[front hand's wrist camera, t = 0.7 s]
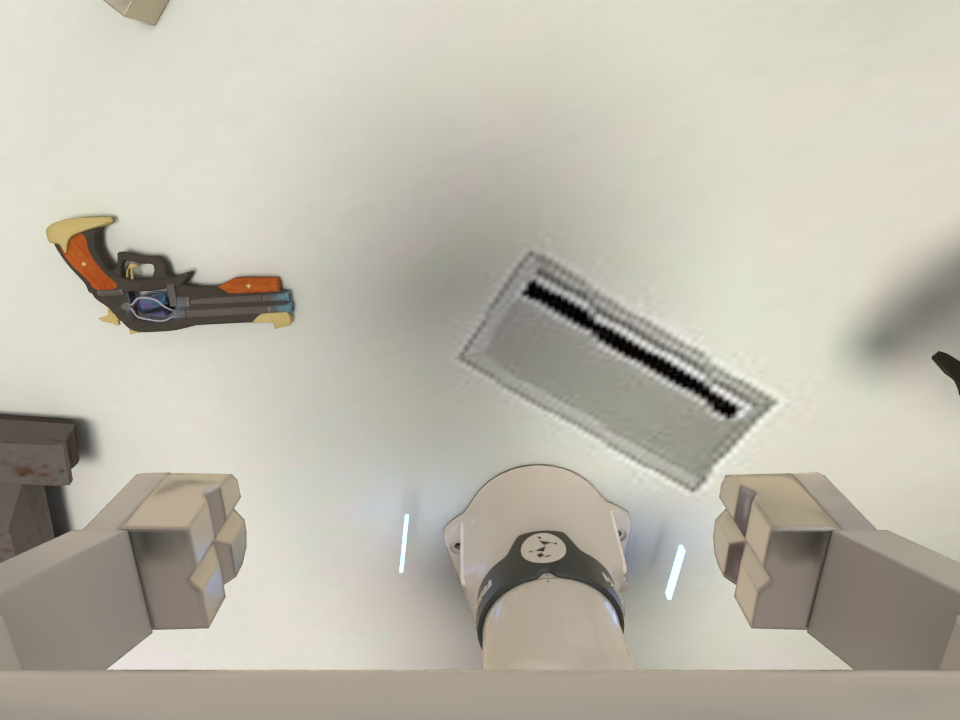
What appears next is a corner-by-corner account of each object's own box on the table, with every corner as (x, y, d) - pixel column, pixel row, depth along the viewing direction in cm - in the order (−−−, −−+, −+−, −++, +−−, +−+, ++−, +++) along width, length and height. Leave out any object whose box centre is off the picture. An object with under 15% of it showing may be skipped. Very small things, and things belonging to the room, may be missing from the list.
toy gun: (34, 219, 50) (60, 341, 52) (276, 209, 51) (290, 329, 53) (55, 218, 52) (78, 335, 55) (284, 209, 53) (297, 324, 56)
